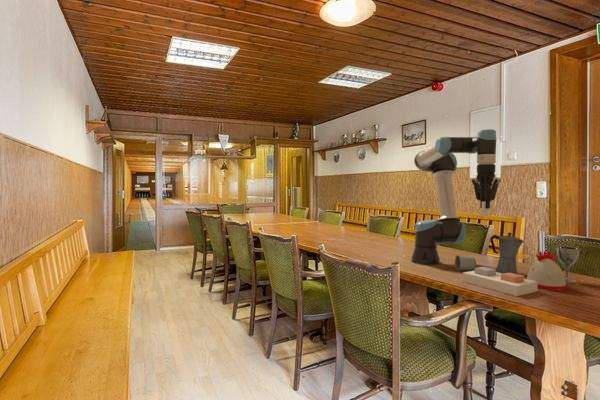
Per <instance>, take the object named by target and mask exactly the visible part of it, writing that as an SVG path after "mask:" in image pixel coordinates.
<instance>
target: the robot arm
mask: <svg viewBox="0 0 600 400" xmlns="http://www.w3.org/2000/svg"><path fill="white" fill-rule="evenodd" d="M434 143H435V144H434V145H433V146H431V147H428V148H427V149H426V150H422V151H419V152H418V153H417V154H416V155H415V157H414V159H413V160H414V161H413V162H414V165H415V167H416V168H417V169H418V170H419V171H421V172H422V171H423V172H428V173H429V172H431V174H432V177H434V178H435V182H436V191H437V199H438V208H439V210H438V211H439V218H438V219H437V220H436V219H425V220H424V219H423V220H419V221H416V223H415V225H414V226H415V227H414V249H413V252H412V255H411V262H412V263H415V264H419V265H430V266H431V265H439V264H440V263H441V258H440V256H439V251H438V249H437V248H438V247H437V245H438V244H452V245H453V244H459V243H462V242H463V241H464V239H465V237H466V231H467V230H466V229H467V228H466V225H465V223H464V222H461V218H460V217H458V215H457V211H456V209H457V207H456V202H455V193H454V186H453V177H452V176H453V175H454V173H455V172H456V170H457V168H458V166H457V165H458V160H457V156H456V155H455V154H473V155H474V154H476V164H477V165H476V173H477V174H476V177H475V178H474V179H473V178H472V179H471V183H472V184H473V187H474V188H473V189H474V195H475V199H476V200H477V201H479V202H480V203H479V204H480V206H479V207H480V209H481V214H480V215H481V216H482V217H487V216H489V209H490V207H491V201H495V199H496V196H497V192H498V187H499V184H500V183H501V179H500V178H499V179H498V178H497V176H496V174H495V173H496V162H497V159H496V158H497V155H496V153H497V131H496V129H492V128H490V129H481V130H478V132H477V135H476V136H467V137H466V136H460V137H459V136H458V137H457V136H443V137H441V136H440V137H438V138H437V139H436V141H435V142H434ZM454 153H455V154H454Z"/></svg>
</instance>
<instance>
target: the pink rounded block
mask: <svg viewBox="0 0 600 400" xmlns="http://www.w3.org/2000/svg"><path fill="white" fill-rule="evenodd" d="M524 279H525V275H523V274H519V273H517V274H514V273H510V272H509V273H504V274H503V273H502V274H501V280H504V281H508V282H512V283H519V282H524Z"/></svg>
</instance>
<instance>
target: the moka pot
mask: <svg viewBox="0 0 600 400" xmlns="http://www.w3.org/2000/svg"><path fill="white" fill-rule="evenodd" d="M494 239H496V240H498V245H499V246H498V249H499V251H496V248H495V242H494ZM524 242H525V241H524V240H523V239H521V238H520V237H516V236H512V232H508V233H507V235H504V236H503V235H498V234H493V235H492V236H491V237H490V244H491V248H492V251H493V253H494V254H497V255H498V254H499V258H498V261H497V262H498V263H497V266H496V272H498V273H502V274H504V273H509V272H510V273H514V274H518V273H517V271H518V270H517V255H518V252H519V249H520V247H521V246H522V245H523V243H524Z"/></svg>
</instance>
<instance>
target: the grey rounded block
mask: <svg viewBox="0 0 600 400" xmlns="http://www.w3.org/2000/svg"><path fill="white" fill-rule="evenodd" d="M496 270H497V268H496V269H495V268H491V267H485V266H480V267H476V268H475V269H474V271H475V274H479V275H484V276H492V275H496V272H497V271H496Z"/></svg>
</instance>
